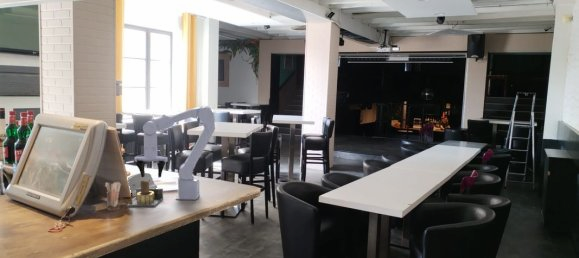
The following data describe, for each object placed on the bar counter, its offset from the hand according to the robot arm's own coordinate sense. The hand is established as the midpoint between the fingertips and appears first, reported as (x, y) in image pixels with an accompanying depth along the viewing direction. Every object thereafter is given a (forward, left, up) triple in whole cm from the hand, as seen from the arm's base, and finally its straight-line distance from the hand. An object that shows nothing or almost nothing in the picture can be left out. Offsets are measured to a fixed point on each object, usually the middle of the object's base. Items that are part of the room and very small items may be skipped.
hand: (151, 176), depth 194 cm
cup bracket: (+1, +6, -10) cm, 12 cm away
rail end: (+1, +6, -9) cm, 11 cm away
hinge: (+10, -12, -11) cm, 19 cm away
